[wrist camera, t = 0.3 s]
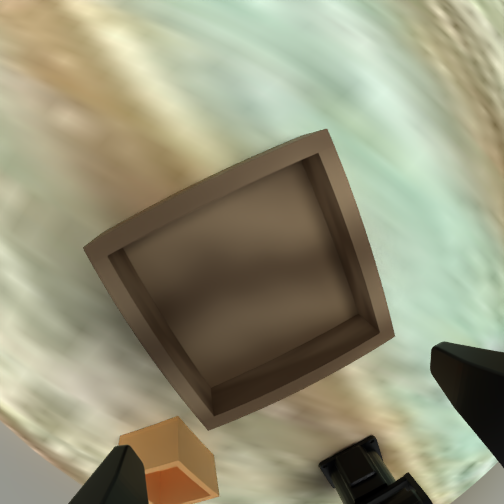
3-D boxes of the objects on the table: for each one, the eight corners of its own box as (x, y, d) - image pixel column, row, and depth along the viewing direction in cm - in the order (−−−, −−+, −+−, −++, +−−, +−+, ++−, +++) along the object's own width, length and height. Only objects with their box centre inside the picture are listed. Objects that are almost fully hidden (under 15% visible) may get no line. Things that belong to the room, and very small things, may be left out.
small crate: (213, 454, 25) (219, 496, 20) (159, 471, 25) (158, 511, 20) (178, 415, 23) (178, 460, 18) (120, 435, 23) (113, 477, 18)
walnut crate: (367, 313, 24) (394, 336, 20) (204, 395, 23) (208, 430, 19) (302, 135, 20) (326, 128, 16) (102, 232, 19) (82, 247, 15)
